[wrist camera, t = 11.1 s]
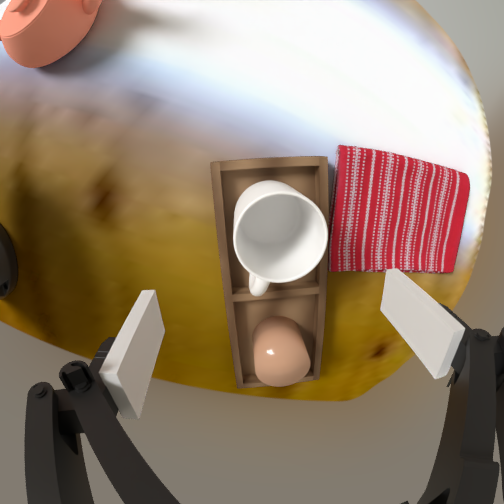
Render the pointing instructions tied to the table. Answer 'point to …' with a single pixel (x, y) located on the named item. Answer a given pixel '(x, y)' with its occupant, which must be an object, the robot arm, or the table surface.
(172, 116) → the table surface
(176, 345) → the table surface
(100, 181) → the table surface
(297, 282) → the caddy
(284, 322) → the peach rounded cylinder
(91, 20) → the teapot
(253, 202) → the mug
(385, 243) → the dish towel
